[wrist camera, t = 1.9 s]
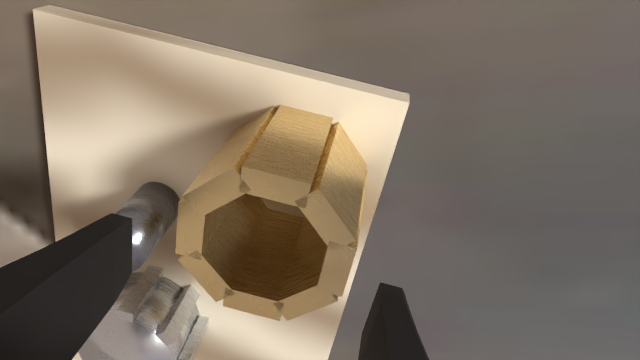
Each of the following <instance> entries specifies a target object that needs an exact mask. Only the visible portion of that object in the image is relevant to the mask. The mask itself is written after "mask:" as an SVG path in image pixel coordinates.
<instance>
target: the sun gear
mask: <svg viewBox="0 0 640 360" xmlns="http://www.w3.org/2000/svg"><path fill="white" fill-rule="evenodd" d="M163 274H164V268H161V267H158V266H154V265H150V264H149V266H148V267H147V269H146V270H145V271H144V272H136V273H132V274H131V275H130V277H129V279H128V281H127V283H126V284H125V286H124V288H123V290H122V292H121V293H120V295H119V297H118V298H117V300H116V302H115V303H114V305H113V306H112V307H111V309H110V310H109V311H108V313H107V314H106V315H105V317H104V318H103V319H102V321H101V322H100V323H99V325H98V326H97V327H96V329H95V330H94V331H93V333H92V334H91V335H90V337H89V338H88V339H87V340H86V342H85V343H84V344H83V346H82V347H81V348H80V350H79V351H78V353H79V355H80V357H81V358H82V360H193V359H194V357H195V355H196V353H197V350H198V348H199V346H200V344H201V342H202V340H203V338H204V335H205V333H206V331H207V329H208V325H209V317H205V316H201V315H200V316H199V311H198V308H197V305H196V302H197V300H198V298H199V296H200V294H199V292H198V291H197V290H196V289H195V288H194V287H193V286H192V285H189V286H187V287H185V288H182V287H181V286H180V285H178V284H177V283H175V282H174V281H172V280H170V279H168V278H166V277H163Z"/></svg>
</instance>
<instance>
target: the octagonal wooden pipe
mask: <svg viewBox="0 0 640 360" xmlns="http://www.w3.org/2000/svg"><path fill="white" fill-rule="evenodd" d="M332 122H333V118H332V117H328V116H324V115H320V114H316V113H312V112H308V111H304V110H300V109H296V108H292V107H288V106H284V105H280V107H279V109H278V110H277V109H276V107H275V106H273V107H271V108H270V109H268V110H266V111H265V112H263V113H261V114H260V115H258V116H256V117H255V118H253V119H251V120H250V121H248V122H246V123H245V124H243V125H241V126H240V127H238V128H236V129H235V130H233V131H232V133H231V134H230V135H229V137H228V138H227V139H226V140H225V142H224V143H223V144H222V146H221V147H220V148H219V149H218V151H217V152H216V153H215V155H214V156H213V157H212V158H211V160H210V161H209V162H208V164H207V165H206V166H205V167H204V169H203V170H202V171H201V173H200V174H199V175H198V176H197V178H196V179H195V180H194V182H193V183H192V184H191V185H190V187H189V188H188V189H187V191H186V192H185V193H184V194H183V196H182V198H181V199H180V201H179V202H178V217H177V233H176V249H175V253H176V254H180V255H181V256H180V257H179V259H178V261H179V262H180V263H181V264H182V265H183V266H184V267H185V268H186V269H187V271H188V272H189V273H190V274H191V275H192V276H193V277H194V278H195V279H196V280H197V282H198V283H199V284H200V285H201V286H202V287H203V288H204V289H205V290H206V292H207V293H208V294H209V295H210V296H211V297H212V298H213V299H214V300H215V302H218V301H220V300H222V299H224V300H223V306H224V307H228V308H232V309H235V310H239V311H243V312H247V313H251V314H254V315H258V316H262V317H266V318H270V319H273V320H277V321H280V319H281V316H282V315H283V317H284V318H285V319H286V320H287V321H289V320H291V319H294V318H296V317H299V316H302V315H304V314H307V313H309V312H312V311H314V310H317V309H320V308H322V307H325V306H327V305H330V304H332V303H335V302H338V296H340V297H342V296H343V293H344V290H345V286H346V283H347V280H348V277H349V273H350V270H351V267H352V264H353V261H354V257H355V254H356V251H357V247H358V239H359V232H360V224H361V217H362V209H363V201H364V194H365V186H366V179H367V171H368V170H366V165H367V164H366V162H365V161H364V159H363V158H362V156H361V155H360V153H359V152H358V150H357V149H356V147H355V146H354V144H353V142H352V141H351V139H350V138H349V136H348V135H347V133H346V132H345V130H344V129H343V127H342V126H341V124H340V123H339V122H338V123H336V124H334V125H332ZM260 197H262V198H266V199H269V200H273V201H277V202H281V203H285V204H289V205H293V206H297V207H299V208H300V210H301V211H302V212H303V214H304V215H305V216H306V217H305V218H304V217H300V216H296V215H292V214H288V213H284V212H280V211H277V210H273V209H269V208H267V206H266V205H265V204H264V202H263V201H262V200H261V198H260Z"/></svg>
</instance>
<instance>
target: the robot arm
mask: <svg viewBox="0 0 640 360" xmlns="http://www.w3.org/2000/svg"><path fill="white" fill-rule="evenodd" d="M131 274H132V218H129V217H125V216H121V215H118V214H114V213H111V214H109V215H107V216H105V217H103V218H101V219H99V220H97V221H95V222H93V223H91V224H89V225H87V226H85V227H84V228H82V229H80V230H78V231H76V232H74V233H72V234H70V235H68V236H66V237H64V238H62V239H60V240H58V241H56V242H54V243H53V244H51V245H49V246H47V247H45V248H43V249H40V250H38V251H36V252H34V253H32V254H30V255H27V256H25V257H23V258H21V259H19V260H16V261H14V262H12V263H10V264H8V265H6V266H3V267H1V268H0V360H72V359H73V358H74V356H75V355H76V354H77V352H78V351H79V350H80V348H81V347H82V346H83V344H84V343H85V342H86V340H87V339H88V338H89V337H90V335H91V334H92V333H93V331H94V330H95V329H96V327H97V326H98V325H99V323H100V322H101V321H102V319H103V318H104V317H105V315H106V314H107V313H108V311H109V310H110V309H111V307H112V306H113V305H114V303H115V302H116V300H117V298H118V297H119V295H120V293H121V292H122V290H123V288H124V286H125V284H126V283H127V281H128V279H129V277H130V275H131ZM358 360H429V358H428V356H427V353H426V351H425V349H424V346H423V344H422V342H421V339H420V337H419V334H418V332H417V329H416V326H415V324H414V321H413V318H412V315H411V312H410V310H409V306H408V303H407V300H406V297H405V293H404V291H403V289H402V288H399V287H396V286H392V285H388V284H384V283H380V285H379V287H378V290H377V293H376V296H375V299H374V301H373V304H372V307H371V310H370V312H369V315H368V318H367V321H366V324H365V326H364V329H363V332H362V337H361V344H360V351H359V358H358Z"/></svg>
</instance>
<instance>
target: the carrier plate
mask: <svg viewBox="0 0 640 360" xmlns="http://www.w3.org/2000/svg"><path fill="white" fill-rule="evenodd" d="M33 17H34V27H35V37H36V47H37V57H38V68H39V78H40V88H41V98H42V108H43V118H44V128H45V139H46V149H47V159H48V169H49V179H50V189H51V200H52V210H53V220H54V230H55V240H56V241H58V240H60V239H62V238H64V237H66V236H68V235H70V234H72V233H74V232H76V231H78V230H80V229H82V228H84V227H85V226H87V225H89V224H91V223H93V222H95V221H97V220H99V219H101V218H103V217H105V216H107V215H109V214H111V213H114V214H115V213H116V212H117V211H118V210H119V209H120V208H121V207H122V206H123V205H124V204H125V203H126V202H127V200H128V199H129V198H130V197H131V196H132V195H133V194H134V193H135V192H136V191H137V190H138V189H139V188H140V187H141V186H142V185H143V184H145V183H148V182H160V183H163V184H165V185H167V186H169V187H170V188H172V189H173V190H174V191H175V192H176V194H177V195H178V197H179V199H181V198H182V196H183V194H184V193H185V192H186V191H187V189H188V188H189V187H190V185H191V184H192V183H193V182H194V180H195V179H196V178H197V176H198V175H199V174H200V173H201V171H202V170H203V169H204V167H205V166H206V165H207V164H208V162H209V161H210V160H211V158H212V157H213V156H214V155H215V153H216V152H217V151H218V149H219V148H220V147H221V146H222V144H223V143H224V142H225V140H226V139H227V138H228V137H229V135H230V134H231V133H232V131H233V130H235V129H236V128H238V127H240V126H241V125H243V124H245V123H246V122H248V121H250V120H251V119H253V118H255V117H256V116H258V115H260V114H261V113H263V112H265V111H266V110H268V109H270V108H271V107H273V106H275V107H276V109H277V110H278V109H279V107H280V105H284V106H288V107H292V108H296V109H300V110H304V111H308V112H312V113H316V114H320V115H324V116H328V117H332V118H333V122H332V125H334V124H336V123H338V122H339V123H340V124H341V126H342V127H343V129H344V130H345V132H346V133H347V135H348V136H349V138H350V139H351V141H352V142H353V144H354V146H355V147H356V149H357V150H358V152H359V153H360V155H361V156H362V158H363V159H364V161H365V162H366V164H367V165H366V170H368V171H367V179H366V186H365V194H364V201H363V209H362V217H361V224H360V232H359V239H358V247H357V251H356V254H355V257H354V261H353V264H352V267H351V270H350V273H349V277H348V280H347V283H346V286H345V290H344V293H343V296H342V297H340V296H338V302H335V303H332V304H330V305H327V306H325V307H322V308H320V309H317V310H314V311H312V312H309V313H307V314H304V315H302V316H299V317H296V318H294V319H291V320H289V321H287V320H286V319H285V318H284V317H283V315H282V316H281V319H280V321H277V320H273V319H270V318H266V317H262V316H258V315H254V314H251V313H247V312H243V311H239V310H235V309H232V308H228V307H224V306H223V300H224V299H222V300H220V301H218V302H215V300H214V299H213V298H212V297H211V296H210V295H209V294H208V293H207V292H206V290H205V289H204V288H203V287H202V286H201V285H200V284H199V283H198V282H197V280H196V279H195V278H194V277H193V276H192V275H191V274H190V273H189V272H188V271H187V269H186V268H185V267H184V266H183V265H182V264H181V263H180V262H179V261H178V259H179V257H180V256H181V255H180V254H176V253H175V249H176V233H177V218H176V219H175V221H174V222H173V223H172V225H171V226H170V227H169V229H168V230H167V232H166V233H165V234H164V236H163V237H162V238H161V240H160V241H159V242H158V244H157V245H156V246H155V248H154V249H153V250H152V252H151V253H150V254H149V256H148V257H147V259H146V260H145V261H144V263H143V264H142V265H141V267H140V268H139V269H137V270H135V271H133V272H132V273H136V272H144V271H145V270H146V269H147V267H148V266H149V264H150V265H154V266H158V267H161V268H164V274H163V277H166V278H168V279H170V280H172V281H174V282H175V283H177V284H178V285H180V286H181V287H182V288H185V287H187V286H189V285H192V286H193V287H194V288H195V289H196V290H197V291H198V292H199V294H200V296H199V298H198V300H197V302H196V305H197V308H198V311H199V316H200V315H201V316H205V317H209V325H208V329H207V331H206V333H205V335H204V338H203V340H202V342H201V344H200V346H199V348H198V350H197V353H196V355H195V357H194V359H193V360H328V357H329V354H330V351H331V348H332V344H333V341H334V338H335V335H336V332H337V329H338V326H339V323H340V319H341V316H342V313H343V310H344V307H345V304H346V301H347V297H348V294H349V291H350V288H351V285H352V282H353V279H354V275H355V272H356V269H357V266H358V263H359V260H360V257H361V253H362V250H363V247H364V244H365V241H366V238H367V235H368V231H369V228H370V225H371V222H372V219H373V216H374V213H375V209H376V206H377V203H378V200H379V197H380V194H381V191H382V188H383V184H384V181H385V178H386V175H387V172H388V169H389V166H390V162H391V159H392V156H393V153H394V150H395V147H396V144H397V140H398V137H399V134H400V131H401V128H402V125H403V122H404V118H405V115H406V112H407V109H408V106H409V94H408V93H404V92H400V91H395V90H391V89H387V88H383V87H379V86H375V85H371V84H367V83H363V82H359V81H355V80H351V79H347V78H343V77H339V76H335V75H331V74H327V73H323V72H319V71H315V70H311V69H307V68H303V67H299V66H295V65H291V64H287V63H283V62H279V61H275V60H271V59H267V58H263V57H259V56H255V55H251V54H246V53H242V52H238V51H234V50H230V49H226V48H222V47H218V46H214V45H210V44H206V43H202V42H198V41H194V40H190V39H186V38H182V37H178V36H174V35H170V34H166V33H162V32H158V31H154V30H150V29H146V28H142V27H138V26H134V25H130V24H126V23H122V22H118V21H114V20H110V19H106V18H102V17H98V16H93V15H89V14H85V13H81V12H77V11H73V10H69V9H65V8H61V7H57V6H53V5H47V6H44V7H40V8H36V9H33ZM260 198H261V200H262V201H263V202H264V204H265V205H266V206H267V208H269V209H273V210H277V211H280V212H284V213H288V214H292V215H296V216H300V217H304V218H305V217H306V216H305V215H304V214H303V212H302V211H301V210H300V208H299V207H297V206H293V205H289V204H285V203H281V202H277V201H273V200H269V199H266V198H262V197H260ZM72 360H82V358H81V357H80V355H79V353H78V352H77V354H76V355H75V356H74V358H73V359H72Z"/></svg>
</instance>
